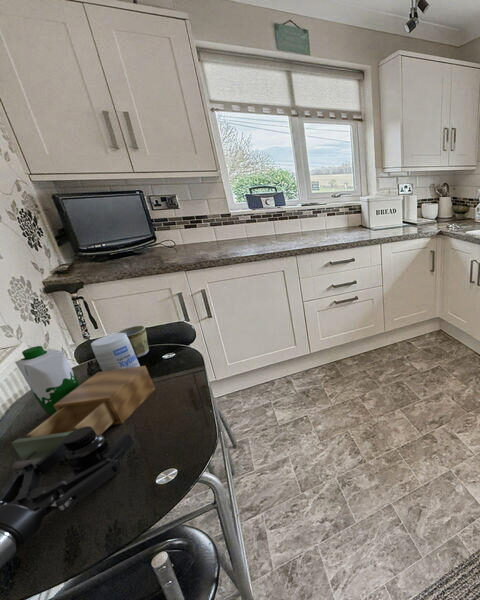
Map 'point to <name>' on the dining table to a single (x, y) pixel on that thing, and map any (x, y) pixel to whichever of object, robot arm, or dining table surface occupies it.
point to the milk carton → (47, 375)
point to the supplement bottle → (84, 449)
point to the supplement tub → (114, 352)
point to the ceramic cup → (137, 339)
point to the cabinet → (113, 391)
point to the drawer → (61, 430)
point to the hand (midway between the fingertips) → (99, 441)
